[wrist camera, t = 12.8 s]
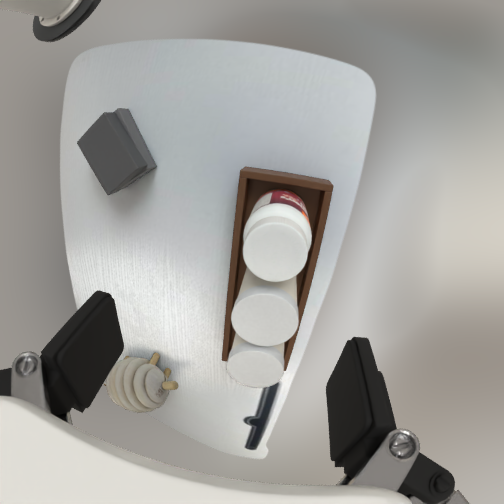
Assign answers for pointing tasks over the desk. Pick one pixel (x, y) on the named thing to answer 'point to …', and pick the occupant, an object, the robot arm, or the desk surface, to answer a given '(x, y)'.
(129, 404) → the toy sheep
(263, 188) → the tray
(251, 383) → the white bottle
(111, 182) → the grey books
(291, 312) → the white bottle
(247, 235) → the pill bottle
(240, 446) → the desk surface
